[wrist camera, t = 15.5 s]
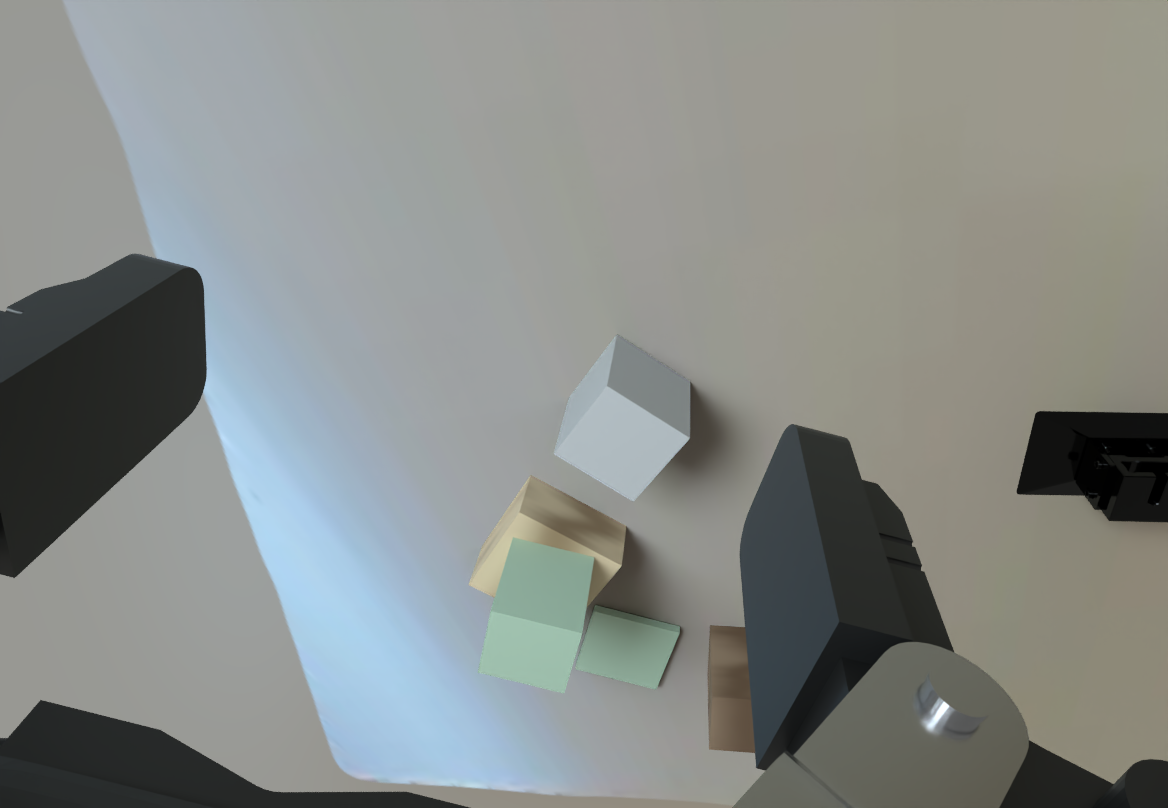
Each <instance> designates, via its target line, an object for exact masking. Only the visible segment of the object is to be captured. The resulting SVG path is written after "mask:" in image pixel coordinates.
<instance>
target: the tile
mask: <svg viewBox="0 0 1168 808" xmlns="http://www.w3.org/2000/svg"><path fill="white" fill-rule="evenodd" d="M679 633H680V626H676V625H672V624H668V623H664V622H660V621H656V620H652V619H648V618H644V617H640V616H637V615H633V614H629V613H625V612H621V611H617V610H613V609H609V608H605V607H601V606H597V605H595V607H594V610H593V613H592V616H591V619H590V622H589V626H588V629H587V632H586V635H585V638H584V641H583V644H582V647H581V650H580V653H579V656H578V659H577V662H576V668H575V669H577V670H581V671H585V672H589V673H593V674H597V675H600V676H604V677H608V678H612V679H616V680H620V681H624V682H628V683H632V684H636V685H640V686H644V687H648V688H652V689H657V686H658V684H659V681H660V679H661V677H662V674H663V672H664V669H665V667H666V665H667V662H668V660H669V657H670V655H671V653H672V650H673V648H674V645H675V643H676V641H677V638H678V636H679Z"/></svg>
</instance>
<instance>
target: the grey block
mask: <svg viewBox="0 0 1168 808" xmlns="http://www.w3.org/2000/svg"><path fill="white" fill-rule="evenodd" d="M689 439H690V381H689V380H687V379H686V378H684V377H683V376H681V375H680V374H678V373H676V372H675V371H673V370H672V369H670V368H669V367H667V366H666V365H664V364H663V363H661V362H659V361H658V360H656V359H655V358H653V357H652V356H650V355H649V354H647V353H646V352H644V351H642V350H641V349H639V348H638V347H636V346H635V345H633V344H632V343H630V342H628V341H627V340H625V339H624V338H622V337H621V336H619V335H618V334H617V335H616V336H615V337H614V339H613V340H612V341H611V343H610V344H609V345H608V347H607V348H606V349H605V351H604V352H603V353H602V355H601V356H600V357H599V359H598V360H597V361H596V363H595V364H594V365H593V366H592V368H591V369H590V370H589V372H588V373H587V374H586V376H585V377H584V378H583V380H582V381H581V382H580V384H579V385H578V386H577V388H576V389H575V390H574V392H573V393H572V394H571V396H570V397H569V400H568V404H567V407H566V411H565V415H564V418H563V422H562V425H561V429H560V433H559V436H558V440H557V444H556V447H555V451H554V454H555V455H556V456H558V457H560V458H561V459H563V460H565V461H566V462H568V463H570V464H571V465H573V466H575V467H576V468H578V469H580V470H581V471H583V472H585V473H586V474H588V475H590V476H591V477H593V478H595V479H596V480H598V481H600V482H601V483H603V484H605V485H606V486H608V487H610V488H611V489H613V490H615V491H616V492H618V493H620V494H621V495H623V496H625V497H626V498H628V499H630V500H631V501H634V500H635V499H636V498H637V497H638V496H639V495H640V494H641V492H642V491H643V490H644V489H645V488H646V487H647V486H648V485H649V483H650V482H651V481H652V480H653V479H654V478H655V477H656V476H657V475H658V473H659V472H660V471H661V470H662V469H663V468H664V467H665V466H666V465H667V463H668V462H669V461H670V460H671V459H672V458H673V457H674V456H675V454H676V453H677V452H678V451H679V450H680V449H681V448H682V447H683V446H684V444H685V443H686V442H687V441H688V440H689Z"/></svg>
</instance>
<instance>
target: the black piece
mask: <svg viewBox="0 0 1168 808" xmlns="http://www.w3.org/2000/svg"><path fill="white" fill-rule="evenodd" d="M1017 494H1025V495H1085V497H1086V498H1087V499H1088V501H1089V502H1090V503H1091V505H1092V506H1093V508H1094V509H1095V510H1102V512H1103V513H1104V514H1105V516H1106V517H1107V519H1108V520H1109V521H1134V522H1168V413H1114V412H1051V411H1039V412H1037V413H1036V414H1035V418H1034V422H1033V426H1032V430H1031V434H1030V439H1029V443H1028V447H1027V451H1026V455H1025V459H1024V463H1023V467H1022V472H1021V476H1020V480H1019V484H1018V488H1017Z"/></svg>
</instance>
